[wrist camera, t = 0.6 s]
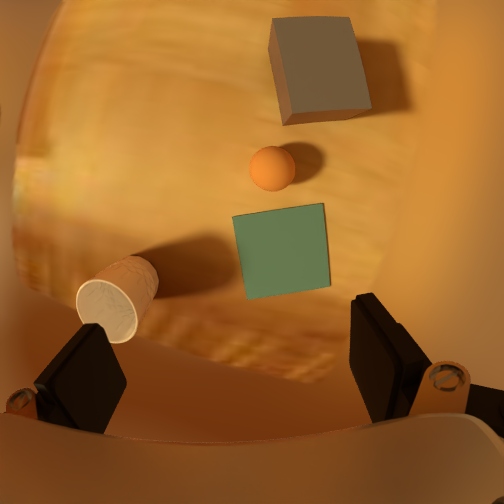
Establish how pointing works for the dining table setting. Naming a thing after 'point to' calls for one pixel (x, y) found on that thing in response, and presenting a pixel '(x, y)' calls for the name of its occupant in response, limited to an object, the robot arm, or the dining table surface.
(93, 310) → the white cup
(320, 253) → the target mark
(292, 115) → the grey rectangular box
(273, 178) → the ball
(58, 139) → the dining table surface
